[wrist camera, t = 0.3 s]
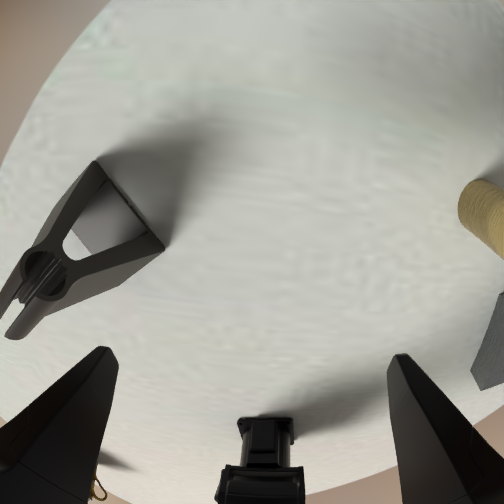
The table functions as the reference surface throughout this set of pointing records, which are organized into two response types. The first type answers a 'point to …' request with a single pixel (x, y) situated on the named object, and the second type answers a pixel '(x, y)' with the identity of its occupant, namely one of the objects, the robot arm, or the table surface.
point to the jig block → (491, 351)
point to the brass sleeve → (484, 213)
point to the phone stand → (87, 269)
